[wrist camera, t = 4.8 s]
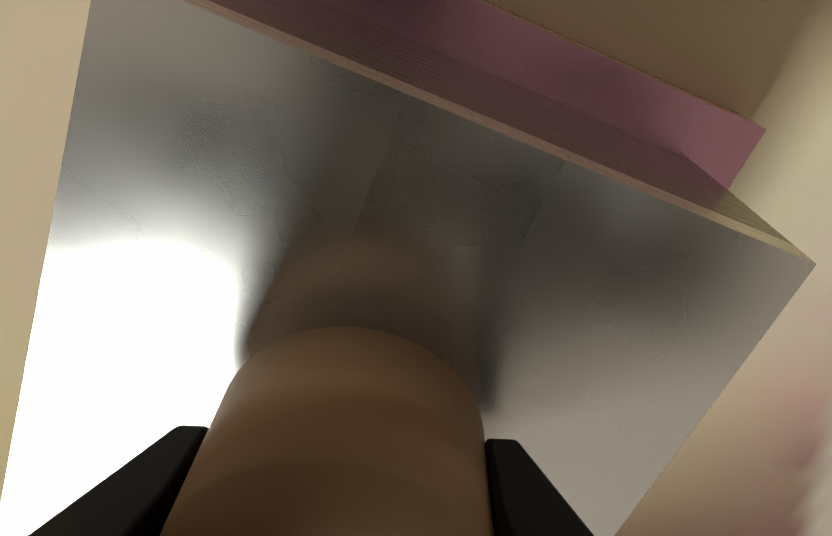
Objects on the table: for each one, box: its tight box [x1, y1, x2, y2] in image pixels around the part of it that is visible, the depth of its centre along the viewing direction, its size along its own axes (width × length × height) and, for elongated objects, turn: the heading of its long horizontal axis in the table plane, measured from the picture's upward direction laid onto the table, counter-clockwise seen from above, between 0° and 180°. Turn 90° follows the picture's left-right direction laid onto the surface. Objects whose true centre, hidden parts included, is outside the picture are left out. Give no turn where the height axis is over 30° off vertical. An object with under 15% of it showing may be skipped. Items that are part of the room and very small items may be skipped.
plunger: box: [160, 326, 495, 536], centre depth 10 cm, size 7×7×7 cm
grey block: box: [0, 0, 816, 536], centre depth 12 cm, size 11×11×6 cm
